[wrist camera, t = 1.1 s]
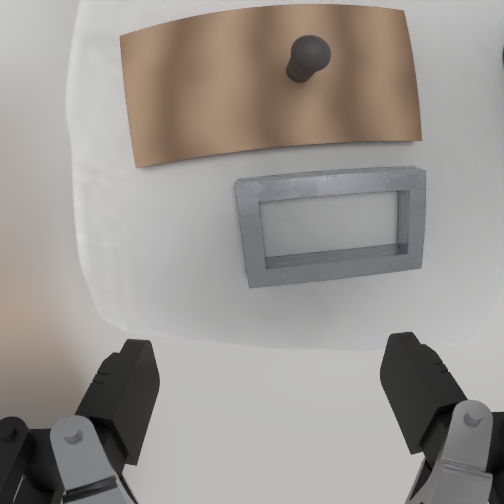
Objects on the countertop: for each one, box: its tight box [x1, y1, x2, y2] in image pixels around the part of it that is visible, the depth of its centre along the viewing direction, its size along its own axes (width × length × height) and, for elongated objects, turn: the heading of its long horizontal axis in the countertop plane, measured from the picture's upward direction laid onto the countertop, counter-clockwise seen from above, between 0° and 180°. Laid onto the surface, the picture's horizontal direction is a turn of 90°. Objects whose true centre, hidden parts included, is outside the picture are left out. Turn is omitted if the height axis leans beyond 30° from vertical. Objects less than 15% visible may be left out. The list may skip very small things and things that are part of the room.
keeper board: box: [120, 4, 422, 168], centre depth 19 cm, size 24×12×9 cm, turn 97°
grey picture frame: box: [235, 166, 426, 288], centre depth 27 cm, size 16×9×3 cm, turn 97°
